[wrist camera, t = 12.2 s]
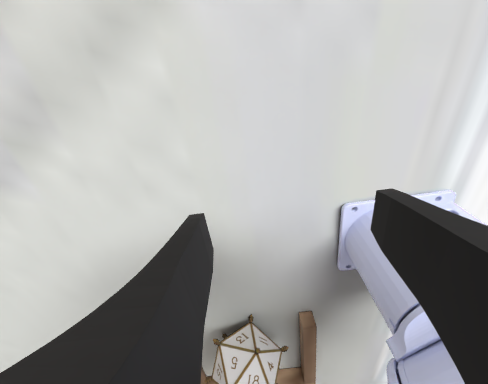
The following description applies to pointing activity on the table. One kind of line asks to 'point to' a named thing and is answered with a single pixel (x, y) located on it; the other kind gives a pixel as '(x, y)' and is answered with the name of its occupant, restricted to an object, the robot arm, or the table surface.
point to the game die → (246, 358)
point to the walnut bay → (302, 378)
